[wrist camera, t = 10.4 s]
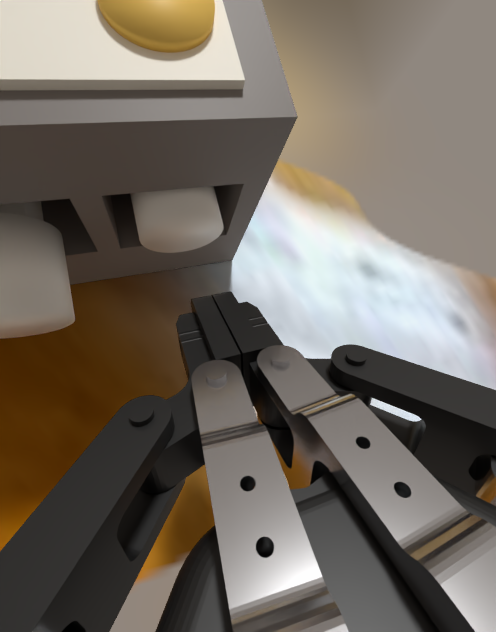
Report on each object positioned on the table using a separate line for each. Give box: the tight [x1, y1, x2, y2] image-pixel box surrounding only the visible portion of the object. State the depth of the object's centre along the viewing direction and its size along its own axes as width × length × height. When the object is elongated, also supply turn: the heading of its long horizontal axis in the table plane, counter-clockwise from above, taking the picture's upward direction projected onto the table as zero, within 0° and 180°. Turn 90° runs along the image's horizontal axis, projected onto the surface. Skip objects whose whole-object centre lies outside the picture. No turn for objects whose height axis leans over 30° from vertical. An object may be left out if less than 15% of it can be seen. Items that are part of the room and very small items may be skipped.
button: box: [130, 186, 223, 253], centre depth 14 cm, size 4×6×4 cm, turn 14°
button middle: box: [0, 201, 75, 339], centre depth 12 cm, size 4×6×4 cm, turn 14°
